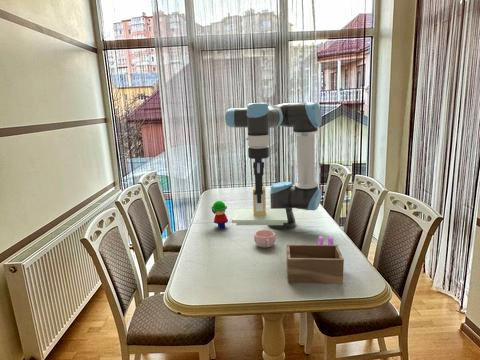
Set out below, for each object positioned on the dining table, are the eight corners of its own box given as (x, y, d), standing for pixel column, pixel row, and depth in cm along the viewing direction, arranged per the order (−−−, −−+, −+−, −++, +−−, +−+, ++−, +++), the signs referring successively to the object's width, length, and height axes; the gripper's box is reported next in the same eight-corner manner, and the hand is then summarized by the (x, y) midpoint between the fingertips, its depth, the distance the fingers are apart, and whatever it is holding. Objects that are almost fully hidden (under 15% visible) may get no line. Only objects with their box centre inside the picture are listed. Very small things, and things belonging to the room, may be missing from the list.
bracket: (318, 249, 152) (318, 235, 151) (330, 249, 152) (331, 234, 150) (324, 263, 140) (324, 247, 138) (337, 262, 139) (338, 247, 138)
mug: (252, 242, 162) (252, 230, 161) (272, 240, 164) (272, 228, 162) (258, 252, 151) (257, 240, 149) (279, 250, 152) (279, 238, 151)
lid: (235, 214, 135) (234, 184, 132) (285, 214, 133) (285, 183, 130) (231, 226, 122) (230, 193, 119) (287, 226, 120) (287, 192, 117)
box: (286, 265, 138) (286, 244, 136) (336, 266, 136) (337, 244, 134) (287, 282, 125) (287, 259, 123) (342, 283, 123) (343, 259, 121)
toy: (228, 230, 177) (227, 203, 174) (212, 231, 177) (210, 203, 174) (228, 224, 186) (227, 198, 183) (212, 225, 186) (211, 199, 183)
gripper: (249, 143, 130) (250, 201, 135) (246, 150, 113) (248, 216, 118) (268, 143, 129) (269, 201, 135) (269, 150, 112) (269, 216, 118)
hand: (259, 208), depth 126 cm, fingers closed on lid, 4 cm apart
